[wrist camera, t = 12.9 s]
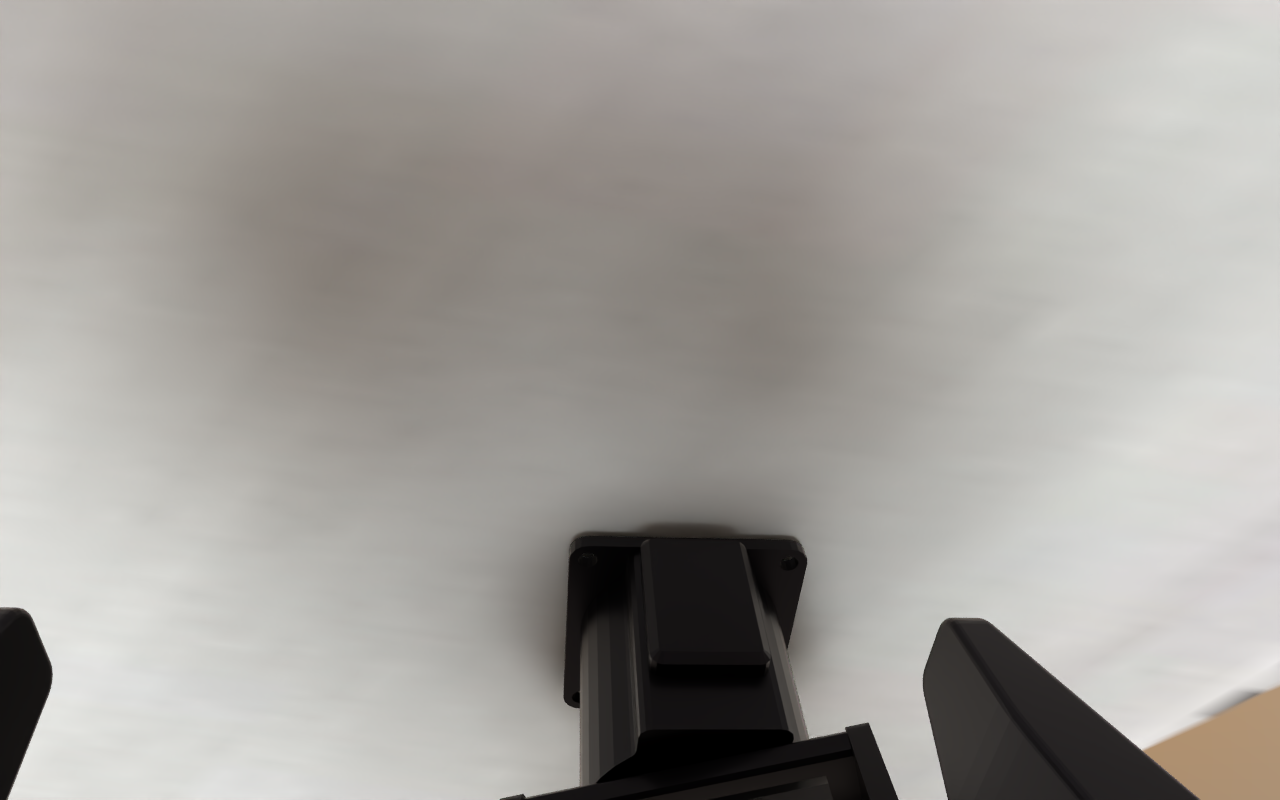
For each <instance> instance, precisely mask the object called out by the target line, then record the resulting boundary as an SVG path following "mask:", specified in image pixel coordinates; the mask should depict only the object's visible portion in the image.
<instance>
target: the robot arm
mask: <svg viewBox="0 0 1280 800" xmlns="http://www.w3.org/2000/svg"><path fill="white" fill-rule="evenodd" d="M585 553H591V554H594V556H592V557H584V556H582V554H585ZM786 557H793V558H792V559H790V560H786V561H784V560H783V559H784V558H786ZM806 566H807V557H806V554H805V551H804V548H803V547H802V545H801V544H800V543H798V542H796V541H792V540H765V539H714V538H663V537H612V536H585V537H580V538H578V539H576V540H575V541H574V542H573V543H572V544H571V546H570V549H569V571H568V596H567V621H566V646H565V671H564V701H565V702H566V703H567V704H568V705H569V706H571V707H574V708H580V787H575V788H570V789H565V790H561V791H556V792H551V793H546V794H541V795H536V796H531V797H527V798H526V797H525V796H524V794H521V795H516V796H511V797H506V798H502V799H500V800H898V797H897V795H896V792H895V790H894V787H893V784H892V782H891V779H890V777H889V774H888V771H887V769H886V766H885V764H884V761H883V758H882V756H881V753H880V751H879V748H878V746H877V743H876V740H875V738H874V735H873V733H872V730H871V727H870V725H869V723H864V724H859V725H854V726H850V727H845V729H846V732H841V733H837V734H832V735H827V736H822V737H817V738H812V739H809V736H808V732H807V728H806V724H805V720H804V716H803V712H802V708H801V705H800V701H799V697H798V693H797V689H796V685H795V681H794V677H793V673H792V669H791V665H790V661H789V658H788V654H787V648H788V644H789V640H790V635H791V631H792V627H793V622H794V618H795V614H796V610H797V605H798V601H799V597H800V592H801V588H802V584H803V579H804V575H805V571H806ZM52 676H53V674H52V666H51V662H50V660H49V657H48V655H47V653H46V650H45V648H44V645H43V643H42V640H41V638H40V636H39V633H38V631H37V628H36V626H35V623H34V621H33V619H32V617H31V615H30V614H29V613H28V612H27V611H25V610H24V609H21V608H9V607H0V800H8V797H9V795H10V792H11V789H12V787H13V784H14V782H15V779H16V777H17V774H18V772H19V769H20V767H21V764H22V761H23V759H24V756H25V754H26V751H27V749H28V746H29V744H30V741H31V738H32V736H33V733H34V731H35V728H36V726H37V723H38V721H39V718H40V715H41V713H42V710H43V708H44V705H45V703H46V700H47V698H48V695H49V692H50V689H51V684H52ZM923 692H924V697H925V701H926V706H927V710H928V714H929V719H930V723H931V727H932V732H933V736H934V740H935V745H936V749H937V754H938V758H939V762H940V767H941V771H942V775H943V780H944V784H945V788H946V793H947V797H948V800H1200V799H1199V798H1198V797H1196V796H1195V795H1194V794H1193V793H1192V792H1190V791H1189V790H1188V789H1187V788H1186V787H1184V786H1183V785H1182V784H1181V783H1180V782H1179V781H1177V780H1176V779H1175V778H1174V777H1173V776H1172V775H1170V774H1169V773H1168V772H1167V771H1165V770H1164V769H1163V768H1162V767H1161V766H1160V765H1158V764H1157V763H1156V762H1155V761H1154V760H1153V759H1151V758H1150V757H1149V756H1148V755H1147V754H1145V753H1144V752H1143V751H1142V750H1141V749H1140V748H1138V747H1137V746H1136V745H1135V744H1134V743H1132V742H1131V741H1130V740H1129V739H1128V738H1126V737H1125V736H1124V735H1123V734H1122V733H1121V732H1119V731H1118V730H1117V729H1116V728H1115V727H1113V726H1112V725H1111V724H1110V723H1109V722H1107V721H1106V720H1105V719H1104V718H1103V717H1102V716H1100V715H1099V714H1098V713H1097V712H1096V711H1094V710H1093V709H1092V708H1091V707H1090V706H1088V705H1087V704H1086V703H1085V702H1084V701H1083V700H1081V699H1080V698H1079V697H1078V696H1077V695H1075V694H1074V693H1073V692H1072V691H1071V690H1070V689H1068V688H1067V687H1066V686H1065V685H1064V684H1062V683H1061V682H1060V681H1059V680H1058V679H1056V678H1055V677H1054V676H1053V675H1052V674H1051V673H1049V672H1048V671H1047V670H1046V669H1045V668H1043V667H1042V666H1041V665H1040V664H1039V663H1037V662H1036V661H1035V660H1034V659H1033V658H1032V657H1030V656H1029V655H1028V654H1027V653H1026V652H1024V651H1023V650H1022V649H1021V648H1020V647H1018V646H1017V645H1016V644H1015V643H1014V642H1013V641H1011V640H1010V639H1009V638H1008V637H1007V636H1005V635H1004V634H1003V633H1002V632H1001V631H1000V630H998V629H997V628H996V627H995V626H994V625H992V624H991V623H990V622H988V621H986V620H984V619H981V618H948V619H946V620H944V621H943V622H942V623H941V625H940V627H939V630H938V632H937V635H936V638H935V641H934V644H933V647H932V649H931V652H930V655H929V658H928V661H927V663H926V666H925V669H924V674H923Z"/></svg>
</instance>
